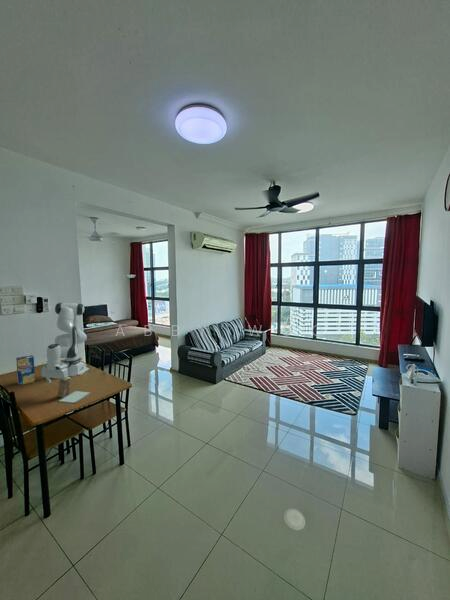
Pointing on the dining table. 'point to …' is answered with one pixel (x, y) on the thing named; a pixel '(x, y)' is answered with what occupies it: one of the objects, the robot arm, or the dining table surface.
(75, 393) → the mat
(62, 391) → the block
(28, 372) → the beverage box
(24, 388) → the dining table surface
